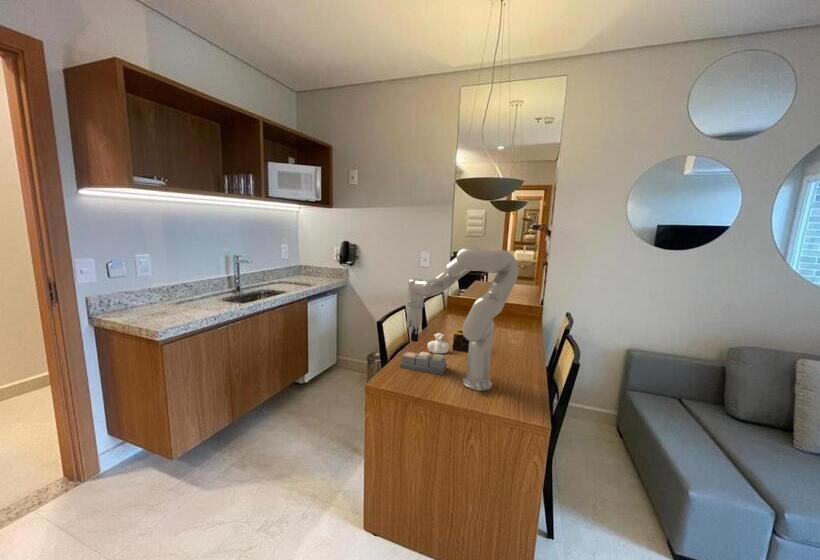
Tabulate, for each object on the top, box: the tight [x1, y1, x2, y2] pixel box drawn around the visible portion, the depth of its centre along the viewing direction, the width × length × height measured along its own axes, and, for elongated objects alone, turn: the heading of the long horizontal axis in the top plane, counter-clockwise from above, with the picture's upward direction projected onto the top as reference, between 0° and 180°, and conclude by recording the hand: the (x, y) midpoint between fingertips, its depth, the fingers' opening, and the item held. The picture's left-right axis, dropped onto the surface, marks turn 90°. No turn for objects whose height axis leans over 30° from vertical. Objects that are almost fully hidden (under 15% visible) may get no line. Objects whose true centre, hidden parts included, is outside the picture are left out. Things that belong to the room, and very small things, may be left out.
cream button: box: [418, 351, 431, 360], centre depth 162 cm, size 4×4×3 cm
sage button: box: [432, 353, 445, 362], centre depth 159 cm, size 4×4×3 cm
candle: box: [451, 328, 469, 353], centre depth 190 cm, size 10×10×10 cm
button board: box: [399, 351, 448, 376], centre depth 162 cm, size 21×9×6 cm, turn 70°
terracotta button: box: [405, 352, 416, 357], centre depth 164 cm, size 4×4×3 cm
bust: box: [427, 332, 450, 355], centre depth 184 cm, size 12×8×11 cm
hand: (414, 340), depth 162 cm, fingers closed
